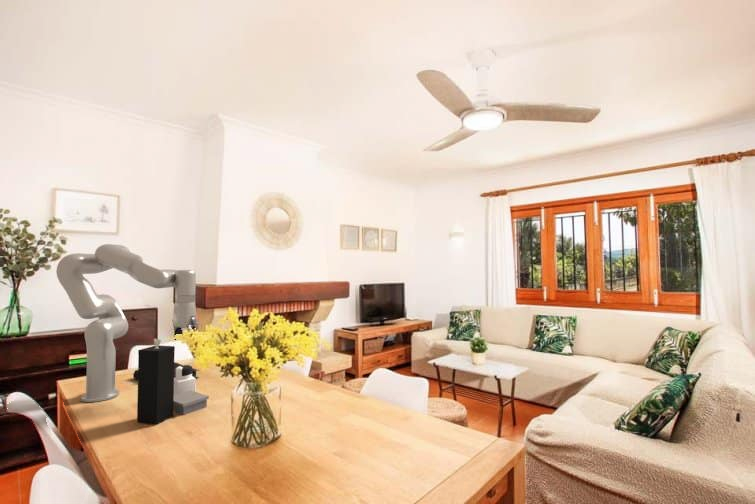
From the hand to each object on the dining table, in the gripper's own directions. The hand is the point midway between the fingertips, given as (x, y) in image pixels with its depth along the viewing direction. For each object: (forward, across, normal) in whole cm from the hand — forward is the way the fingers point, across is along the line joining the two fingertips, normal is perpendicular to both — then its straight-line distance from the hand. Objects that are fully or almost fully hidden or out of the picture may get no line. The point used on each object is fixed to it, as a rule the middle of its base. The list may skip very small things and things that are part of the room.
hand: (185, 340), depth 155 cm
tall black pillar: (+23, +15, -19) cm, 33 cm away
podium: (+22, +14, -7) cm, 27 cm away
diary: (+23, -29, +9) cm, 38 cm away
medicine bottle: (+23, 0, 0) cm, 23 cm away
